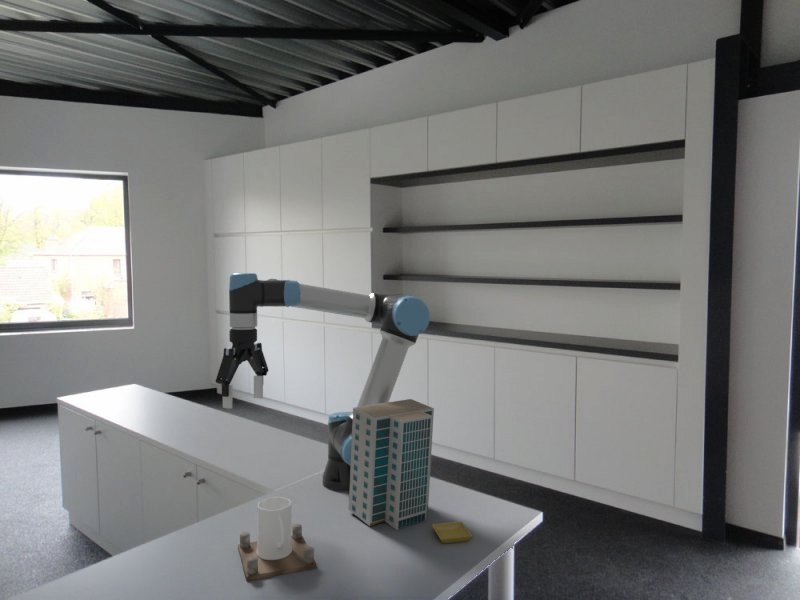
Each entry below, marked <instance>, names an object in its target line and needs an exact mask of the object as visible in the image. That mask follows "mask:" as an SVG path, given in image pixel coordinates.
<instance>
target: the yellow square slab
mask: <svg viewBox="0 0 800 600" xmlns="http://www.w3.org/2000/svg"><path fill="white" fill-rule="evenodd" d="M431 526H432V528H433V530H434V531H435V533H436V535H437V536H438V537H439V540H440V541H441V543H442V544H448V543H449V544H450V543H459V542H468V541H469V540H470V539H471V538H473V534H471V532H470V531H469V529H468V528H467V527H466V525H465V524H464V522H463V521H454V522H442V523H440V522H439V523H433V524H431Z"/></svg>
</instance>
